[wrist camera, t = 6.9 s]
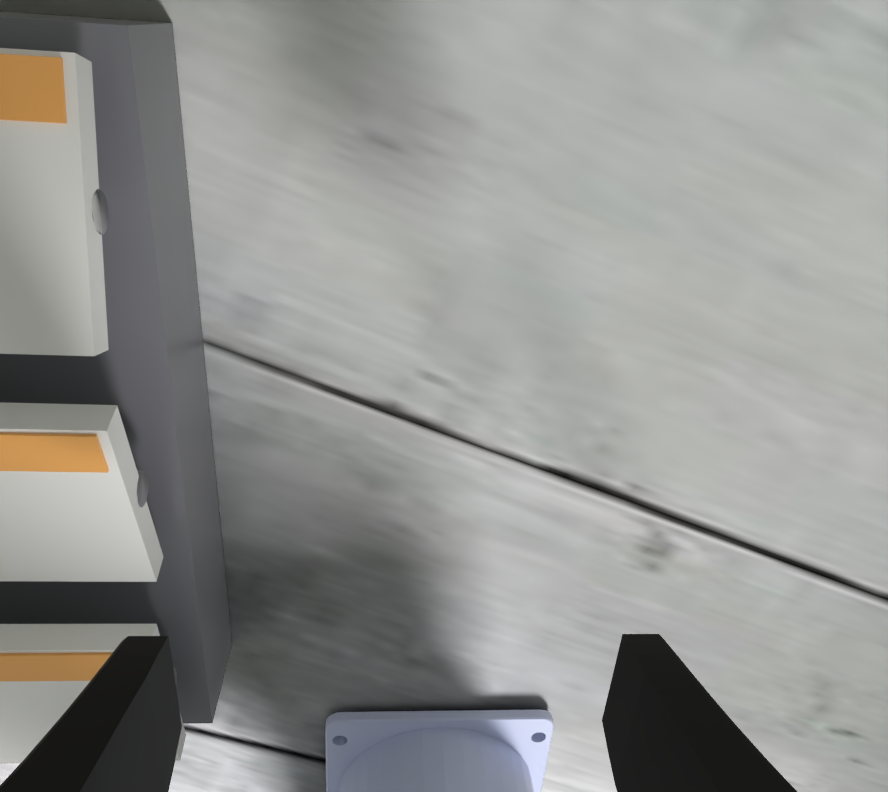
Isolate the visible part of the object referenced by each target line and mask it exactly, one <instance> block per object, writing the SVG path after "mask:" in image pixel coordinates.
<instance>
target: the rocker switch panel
mask: <svg viewBox="0 0 888 792" xmlns="http://www.w3.org/2000/svg"><path fill="white" fill-rule="evenodd" d="M0 48H9V49H25V50H41V51H56V52H72V53H76V54H78V55H80V56H82V57H84V58H85V59H87V60H89V61H91V62H92V76H93V93H94V110H95V127H96V144H97V161H98V178H99V189H101V190H102V191H103V193H104V194H105V197H106V200H107V204H108V211H109V221H108V227H107V230H106V232H105V233H104V234H103V235H102V246H103V263H104V280H105V297H106V314H107V331H108V348H109V350H107V351H105V352H103V353H101V354H98V355H96V356H65V355H30V354H0V402H4V403H47V404H90V405H117V406H118V410H119V413H120V416H121V419H122V423H123V426H124V429H125V432H126V436H127V439H128V442H129V445H130V449H131V452H132V455H133V459H134V462H135V465H136V468H137V470H145V471H146V473H147V475H148V483H149V488H148V496H147V500H146V501H147V504H148V508H149V511H150V514H151V517H152V521H153V524H154V527H155V530H156V534H157V537H158V540H159V544H160V547H161V550H162V553H163V560H162V564H161V567H160V571H159V574H158V578H157V582H65V581H0V624H157V627H158V631H159V634H160V636H169V643H170V650H171V656H172V663H173V667H175V668H176V671H177V683H176V690H177V696H178V703H179V710H180V714H181V718H182V722H183V723H212V722H213V718H214V714H215V710H216V706H217V702H218V698H219V694H220V690H221V686H222V682H223V678H224V674H225V670H226V666H227V662H228V658H229V654H230V650H231V646H232V638H231V628H230V618H229V607H228V597H227V586H226V576H225V566H224V555H223V545H222V534H221V524H220V514H219V503H218V493H217V482H216V472H215V462H214V451H213V441H212V430H211V420H210V410H209V399H208V389H207V378H206V368H205V358H204V347H203V337H202V326H201V316H200V306H199V295H198V285H197V274H196V264H195V254H194V243H193V233H192V222H191V212H190V202H189V191H188V181H187V170H186V160H185V150H184V139H183V129H182V118H181V108H180V98H179V87H178V77H177V66H176V56H175V46H174V35H173V25H172V23H164V22H149V21H135V20H120V19H105V18H91V17H76V16H61V15H47V14H32V13H17V12H2V11H0Z"/></svg>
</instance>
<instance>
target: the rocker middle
mask: <svg viewBox="0 0 888 792" xmlns="http://www.w3.org/2000/svg"><path fill="white" fill-rule="evenodd" d="M148 488H149V483H148V475H147V473H146V471H145V470H137V468H136V465H135V462H134V459H133V455H132V452H131V449H130V445H129V442H128V439H127V436H126V432H125V429H124V426H123V423H122V419H121V416H120V413H119V410H118V406H117V405H90V404H47V403H4V402H0V581H65V582H157V578H158V574H159V571H160V567H161V564H162V560H163V553H162V550H161V547H160V544H159V540H158V537H157V534H156V530H155V527H154V524H153V521H152V517H151V514H150V511H149V508H148V504H147V501H146V500H147V496H148Z"/></svg>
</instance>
